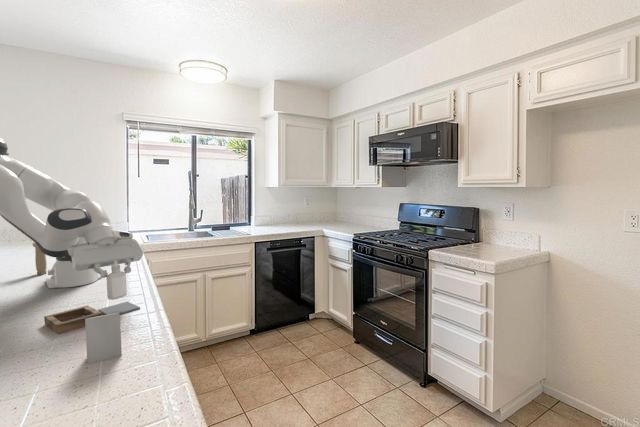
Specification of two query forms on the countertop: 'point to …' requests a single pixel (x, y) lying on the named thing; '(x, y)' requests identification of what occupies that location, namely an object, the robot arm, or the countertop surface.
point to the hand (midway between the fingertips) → (117, 274)
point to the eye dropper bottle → (116, 283)
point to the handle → (40, 260)
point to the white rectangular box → (103, 337)
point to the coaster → (119, 308)
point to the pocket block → (57, 319)
